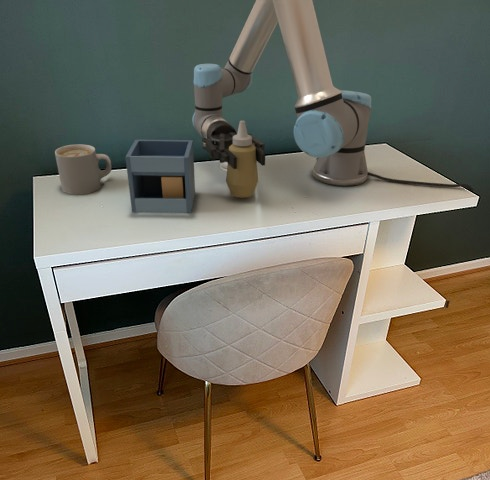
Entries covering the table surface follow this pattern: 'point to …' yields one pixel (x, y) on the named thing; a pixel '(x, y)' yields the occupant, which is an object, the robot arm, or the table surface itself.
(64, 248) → the table surface
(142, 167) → the grey storage cubby
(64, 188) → the coffee mug
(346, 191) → the table surface
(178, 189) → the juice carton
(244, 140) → the squeeze bottle
